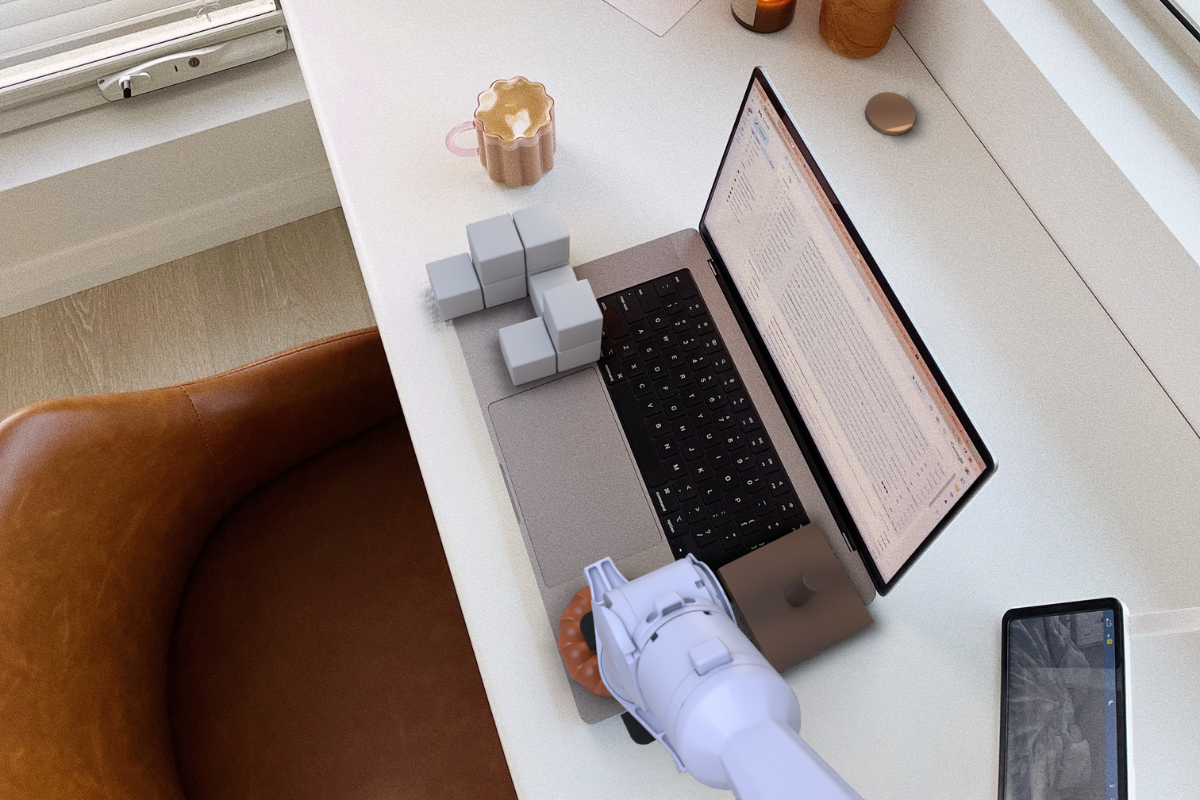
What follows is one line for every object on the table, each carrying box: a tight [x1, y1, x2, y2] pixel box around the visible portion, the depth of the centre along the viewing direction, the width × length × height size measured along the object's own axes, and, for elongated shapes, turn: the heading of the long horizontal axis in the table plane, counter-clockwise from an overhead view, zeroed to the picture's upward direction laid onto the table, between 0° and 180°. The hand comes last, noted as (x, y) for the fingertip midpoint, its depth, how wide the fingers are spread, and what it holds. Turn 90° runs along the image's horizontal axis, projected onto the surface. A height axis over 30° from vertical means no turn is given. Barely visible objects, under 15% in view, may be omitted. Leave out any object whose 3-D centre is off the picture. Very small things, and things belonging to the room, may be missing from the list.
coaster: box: [864, 91, 917, 136], centre depth 92 cm, size 5×5×1 cm
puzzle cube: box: [425, 200, 604, 387], centre depth 78 cm, size 12×12×8 cm
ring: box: [557, 579, 633, 698], centre depth 70 cm, size 9×9×2 cm
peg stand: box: [716, 521, 875, 674], centre depth 70 cm, size 9×9×7 cm
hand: (634, 675), depth 69 cm, fingers open, 4 cm apart
